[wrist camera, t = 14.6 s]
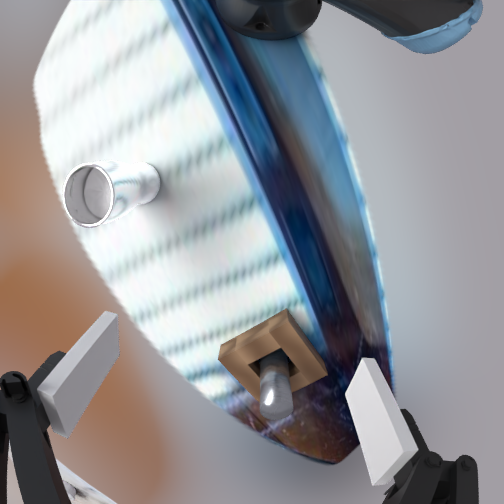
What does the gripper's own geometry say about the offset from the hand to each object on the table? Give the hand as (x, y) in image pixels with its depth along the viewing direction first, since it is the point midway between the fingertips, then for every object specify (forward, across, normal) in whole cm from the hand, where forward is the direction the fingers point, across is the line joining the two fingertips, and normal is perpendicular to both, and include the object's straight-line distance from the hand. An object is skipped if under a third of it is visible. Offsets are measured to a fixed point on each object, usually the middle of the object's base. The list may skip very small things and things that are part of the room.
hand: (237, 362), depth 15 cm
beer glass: (+29, -17, +4) cm, 34 cm away
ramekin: (+29, -56, -117) cm, 133 cm away
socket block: (+29, +7, -19) cm, 35 cm away
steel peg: (+29, +7, -20) cm, 35 cm away
